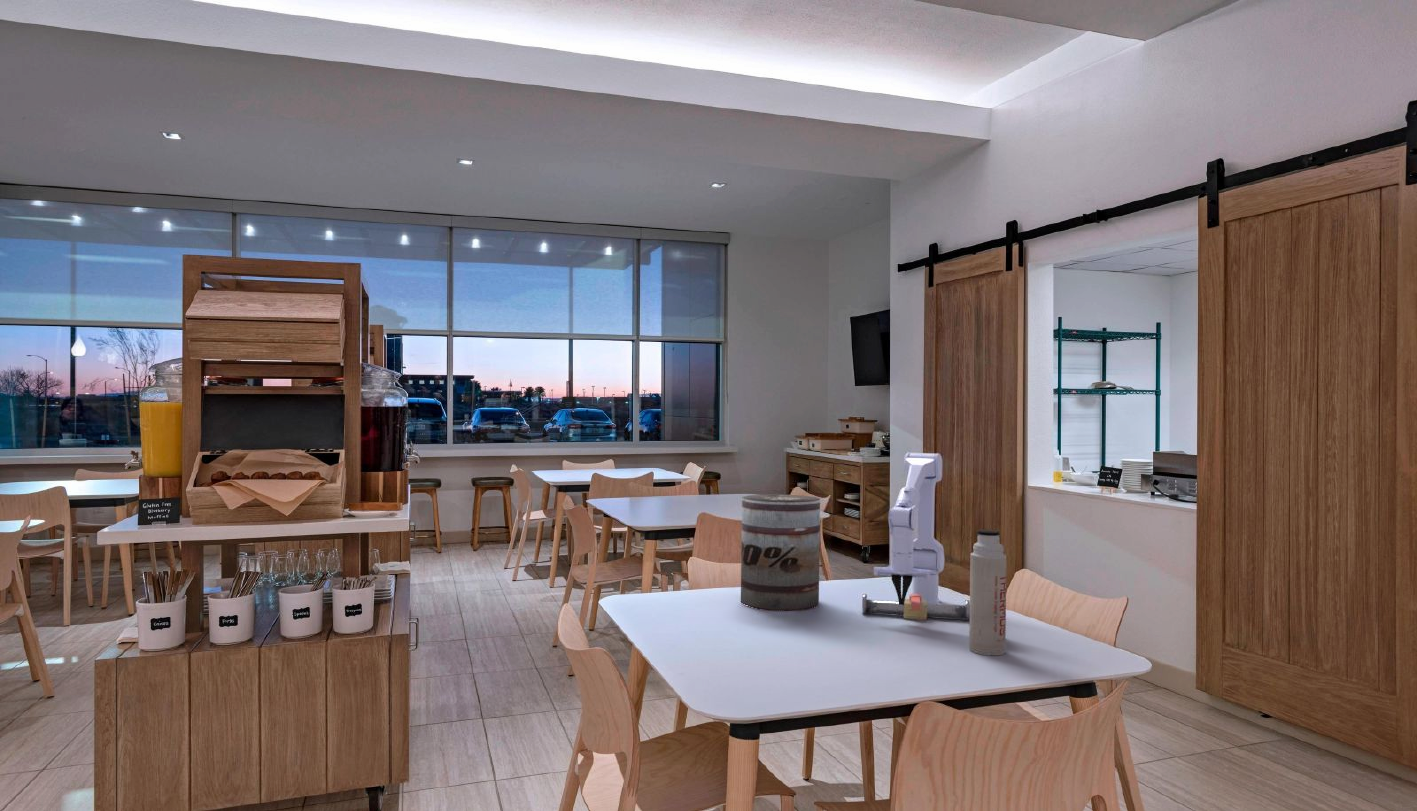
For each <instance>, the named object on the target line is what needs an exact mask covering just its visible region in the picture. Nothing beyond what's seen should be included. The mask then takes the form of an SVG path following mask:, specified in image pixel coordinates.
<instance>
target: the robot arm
mask: <svg viewBox="0 0 1417 811" xmlns="http://www.w3.org/2000/svg"><path fill="white" fill-rule="evenodd" d="M903 468H904V471H905V474H906V475H907V478H906V483H905V486H904V487H901V488H900V490H899V493H898V495H897V499H896V501H895V505H894V506H893V507H891V508H890V509H889V510H888V526H889V535H890V536H891V537H890V539H891V541H890V542H891V543H890V544H891V546H890V547H891V548H890V553H891V554H890V566H874V567H873V576H877V577H878V576H887V577H888V576H889V577H891V581H892V584H893V586H894V589H895V592H896V595H897V601H899V605H904V602H905V599H906V597H907V593H908V590H909V589H910V586H911V584H912V594H919V595H922V597H921V600H927V603H933V604H941V603H940V598H939V573H942V572H943V570H944V567H945V559H946V558H945V551H944V546H943V544H942V543H940V542H939V541H938V540H937V539H936V538H935V499H936V498H935V497H936V495H935V494H936V484H937V483H939V482H941V481H942V478H943V458H942V455H941V454H940V453H938V452H937V453H929V452H928V453H925V452H922V453H921V452H911V451H910V452H909V451H908V452H906V454H905V455H904V458H903ZM916 526H917V537H916V538H915V539H914V531H915V530H914V529H916Z"/></svg>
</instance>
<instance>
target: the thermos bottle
mask: <svg viewBox="0 0 1417 811" xmlns="http://www.w3.org/2000/svg"><path fill="white" fill-rule="evenodd" d="M976 534H978V535H977V542H976V543H975V542H974V544H973V547H972V548H973V552H971V553H970V559H969V560H970V562H969V563H970V564H969V568H970V570H969V571H970V572H969V602H970V620H969V637H968V638H969V640H968V641H969V645H968V646H969V647H968V648H969V651H970V652H972V651H973V652H972V653H974V652H976V653H975V654H977V653H980V654H979V655H982V654H986V655H985V656H990V655H996V656H1002V655H1001V654H1003V655H1004V653H1005V654H1006V639H1007V638H1006V636H1007V635H1006V632H1007V630H1006V629H1007V628H1006V626H1007V625H1006V624H1007V617H1006V616H1007V613H1006V612H1007V555H1006V554H1004V551H1005V549H1004V545H1003V544H1001V543H1000V531H998V530H994V529H979V530H977V532H976Z"/></svg>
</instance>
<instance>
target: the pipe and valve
mask: <svg viewBox="0 0 1417 811" xmlns="http://www.w3.org/2000/svg"><path fill="white" fill-rule="evenodd" d="M861 604H862V606H861V609H862V612H861V613H862V614H880V615H895V616H903V619H907V620H909V619H910V620H919V621H920V620H921V621H927V620H928V618H940V619H953V620H954V619H956V620H964V621H970V599H969V600H966V599H965V600H964V605H963V604H962V605H960V604H948V603H947V604H945V603H940V604H933V603H927V600H921V601H920V610H911V601H910V600H909V598H905V602H904V605H899V600H897V601H896V600H882V599H881V600H880V599H868V594H867V593H863V594H862V602H861Z"/></svg>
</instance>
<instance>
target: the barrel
mask: <svg viewBox="0 0 1417 811" xmlns="http://www.w3.org/2000/svg"><path fill="white" fill-rule="evenodd" d="M820 528H821V499H820V498H819V497H817V496H809V495H798V494H773V493H772V494H752V495H751V494H750V495H745V496H742V498H741V541H740V542H741V549H740V550H741V552H740V554H741V555H740V557H741V558H740V559H741V560H740V603H741V604H742V603H743V604H745V605H748V606H750V607H749V608H751V607H753V608H752V609H755V608H757V609H756V610H760V609H762V611H769V612H771V611H772V612H799V611H800V612H801V611H807V610H812V609H815V608H816V606H817V605H818V604H819V603H820V547H821V546H820V545H821V544H820V543H821V542H820V540H821V539H820V537H821V534H820V533H821V532H820V531H821V529H820ZM743 604H742V605H743ZM745 605H744V606H745ZM819 605H820V604H819ZM819 605H818V606H819ZM748 606H747V607H748ZM818 606H817V607H818ZM814 607H815V608H814Z"/></svg>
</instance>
